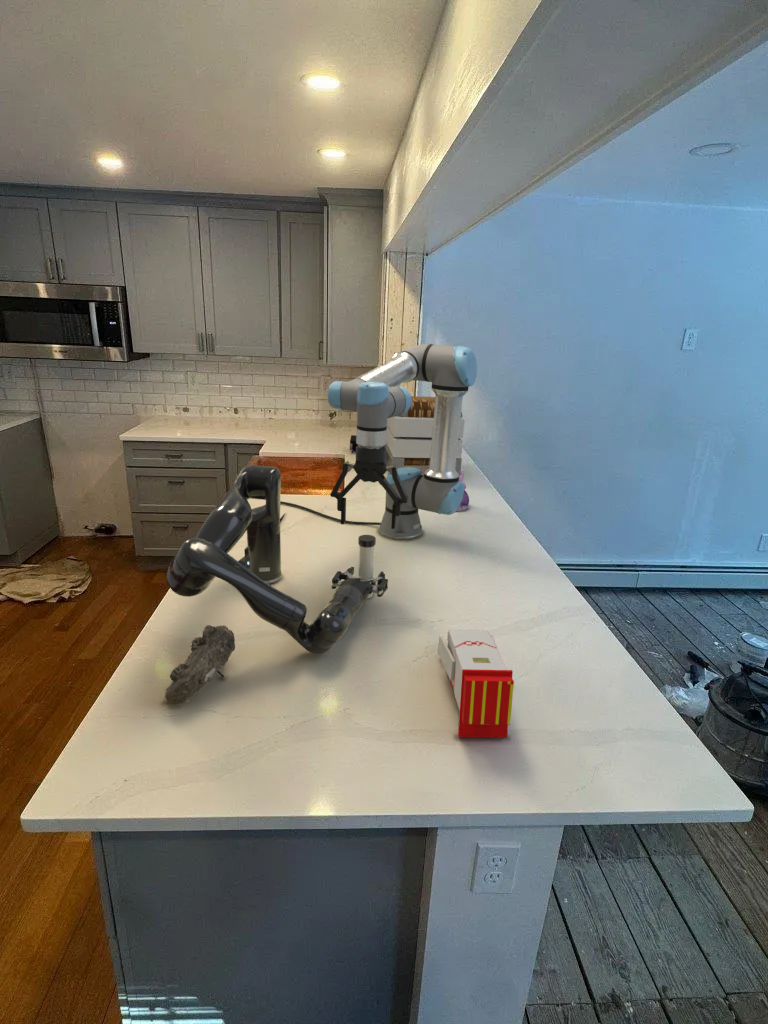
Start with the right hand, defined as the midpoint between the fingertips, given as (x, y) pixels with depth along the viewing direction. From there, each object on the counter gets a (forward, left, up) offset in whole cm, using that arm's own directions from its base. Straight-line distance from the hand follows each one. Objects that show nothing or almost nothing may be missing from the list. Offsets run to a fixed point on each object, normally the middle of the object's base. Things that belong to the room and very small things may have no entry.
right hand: (368, 524), depth 149 cm
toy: (+46, -9, -21) cm, 51 cm away
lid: (0, 0, -4) cm, 4 cm away
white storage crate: (-81, +99, -21) cm, 129 cm away
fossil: (+8, -50, -21) cm, 54 cm away
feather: (-65, +13, -21) cm, 70 cm away
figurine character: (-132, +99, -21) cm, 166 cm away
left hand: (-1, +1, -15) cm, 15 cm away
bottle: (0, 0, -21) cm, 21 cm away
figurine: (-35, +76, -21) cm, 86 cm away
